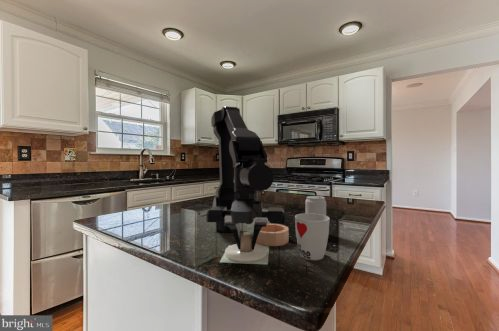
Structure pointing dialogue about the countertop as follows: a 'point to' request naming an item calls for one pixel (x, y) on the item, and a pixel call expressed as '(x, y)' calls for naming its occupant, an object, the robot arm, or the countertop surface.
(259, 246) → the lid
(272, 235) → the bowl
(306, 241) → the cup
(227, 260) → the mat
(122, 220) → the countertop surface
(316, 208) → the beverage can
